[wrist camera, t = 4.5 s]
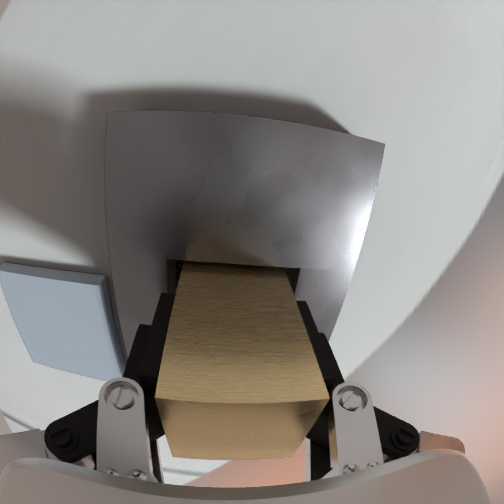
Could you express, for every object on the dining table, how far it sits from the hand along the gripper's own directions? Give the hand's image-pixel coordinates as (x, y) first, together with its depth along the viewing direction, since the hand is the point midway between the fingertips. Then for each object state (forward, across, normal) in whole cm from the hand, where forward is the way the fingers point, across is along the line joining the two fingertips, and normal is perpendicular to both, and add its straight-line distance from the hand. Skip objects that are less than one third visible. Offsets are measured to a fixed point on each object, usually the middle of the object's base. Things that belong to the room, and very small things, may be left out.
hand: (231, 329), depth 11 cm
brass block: (+3, 0, 0) cm, 3 cm away
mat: (+4, +10, +4) cm, 12 cm away
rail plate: (+4, 0, 0) cm, 4 cm away
